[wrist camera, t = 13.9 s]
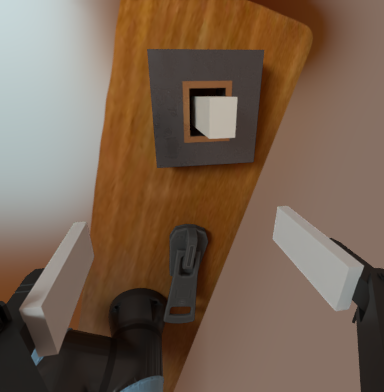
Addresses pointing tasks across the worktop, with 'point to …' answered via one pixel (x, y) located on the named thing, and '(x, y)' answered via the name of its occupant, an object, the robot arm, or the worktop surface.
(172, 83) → the block
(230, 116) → the white rectangular bar
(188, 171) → the worktop surface
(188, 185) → the worktop surface
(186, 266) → the zipper slider
